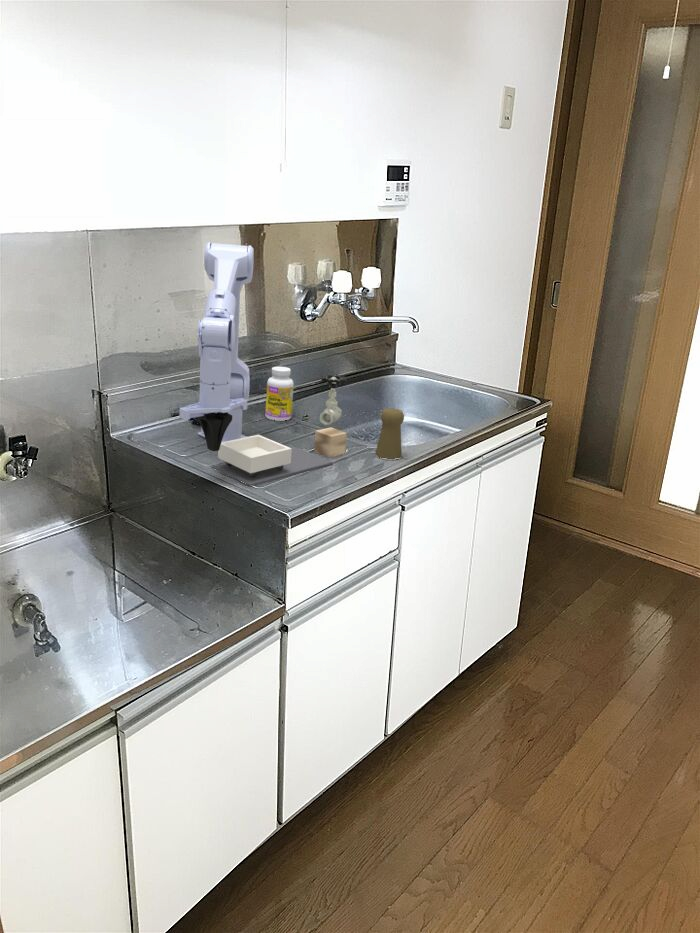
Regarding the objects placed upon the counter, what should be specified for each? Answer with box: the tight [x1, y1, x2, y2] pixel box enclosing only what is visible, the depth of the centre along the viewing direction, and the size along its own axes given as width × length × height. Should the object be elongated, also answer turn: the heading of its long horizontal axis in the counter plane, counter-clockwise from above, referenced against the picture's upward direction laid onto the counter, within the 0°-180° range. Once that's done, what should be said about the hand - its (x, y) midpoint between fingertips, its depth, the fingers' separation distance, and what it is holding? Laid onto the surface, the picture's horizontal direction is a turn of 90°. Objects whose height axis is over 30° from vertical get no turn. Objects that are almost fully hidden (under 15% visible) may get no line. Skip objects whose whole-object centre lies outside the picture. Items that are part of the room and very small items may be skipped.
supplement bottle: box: [265, 366, 294, 422], centre depth 196 cm, size 7×7×13 cm
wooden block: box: [313, 426, 348, 459], centre depth 175 cm, size 5×5×5 cm
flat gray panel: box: [212, 446, 333, 487], centre depth 165 cm, size 12×23×1 cm, turn 136°
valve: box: [319, 373, 347, 427], centre depth 195 cm, size 7×7×12 cm
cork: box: [375, 407, 405, 459], centre depth 176 cm, size 6×6×11 cm
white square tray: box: [217, 434, 292, 477], centre depth 160 cm, size 11×11×5 cm
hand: (213, 449), depth 151 cm, fingers closed
